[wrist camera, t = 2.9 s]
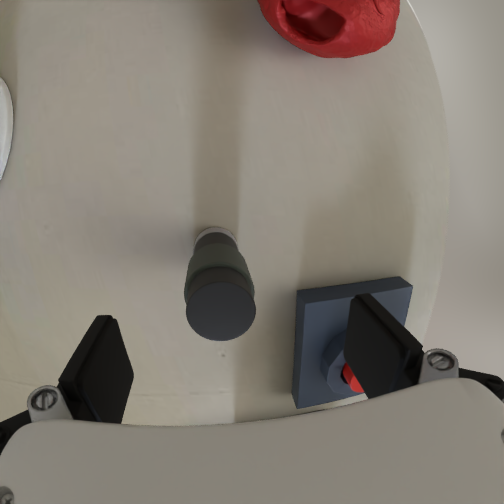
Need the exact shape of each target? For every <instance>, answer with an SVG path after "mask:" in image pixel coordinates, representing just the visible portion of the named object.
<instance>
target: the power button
mask: <svg viewBox="0 0 504 504" xmlns="http://www.w3.org/2000/svg"><path fill="white" fill-rule="evenodd" d="M343 375H344V377H345V379H346V381H347V382H348V384H349V386H350V388H351V389H352V390H353V391H355V392H364V390H363V389H362V387H361V385H360V384H359V382H358V380H357V379H356V377H355V375H354V374H353V372H352V370H351V369H350V367H349V366H348V364H347V362H346V363H345V364H344V367H343Z"/></svg>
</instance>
